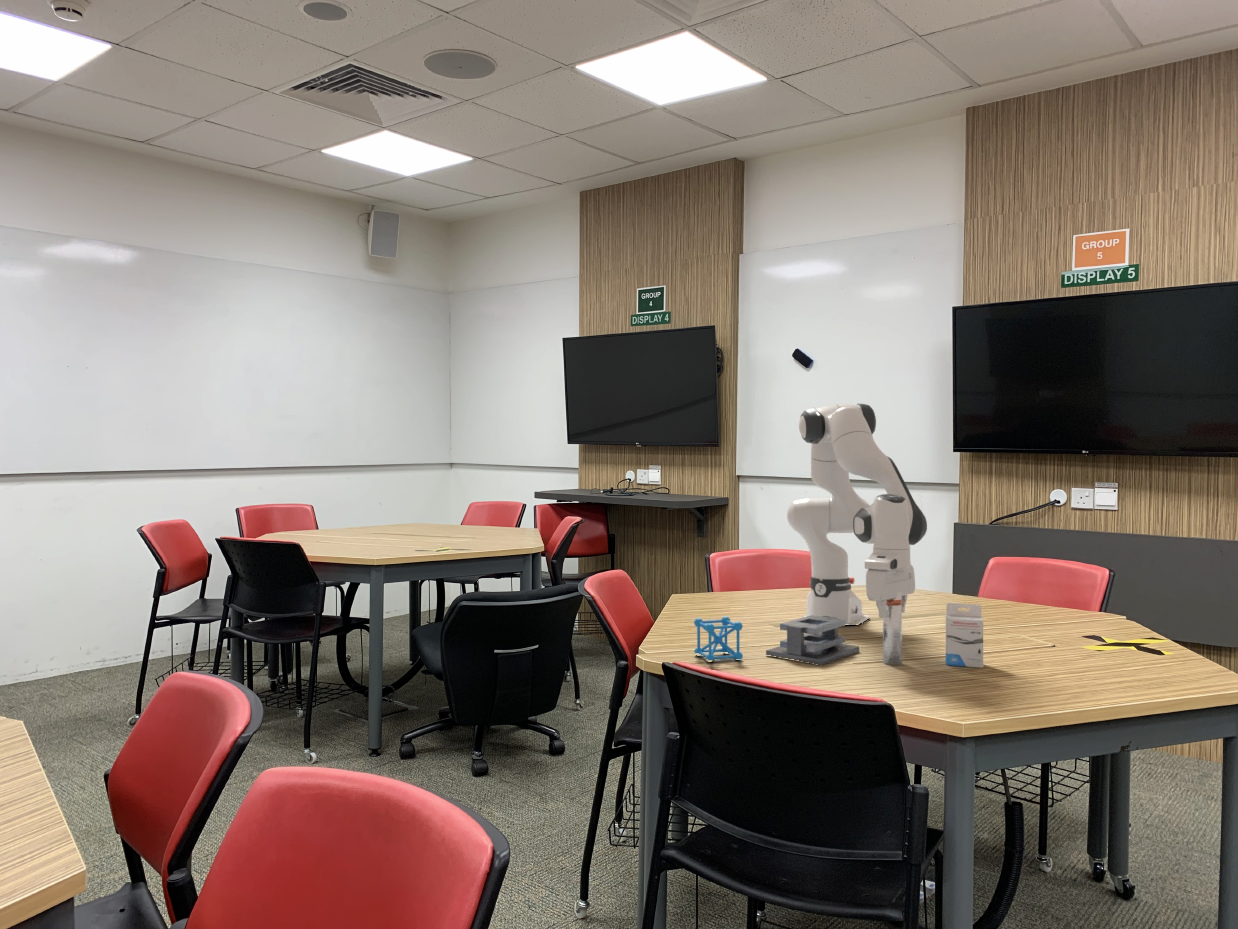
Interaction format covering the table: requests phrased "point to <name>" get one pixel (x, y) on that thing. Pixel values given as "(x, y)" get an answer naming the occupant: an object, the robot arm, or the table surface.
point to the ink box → (964, 635)
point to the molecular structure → (718, 638)
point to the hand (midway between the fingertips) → (892, 615)
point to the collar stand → (813, 640)
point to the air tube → (893, 632)
